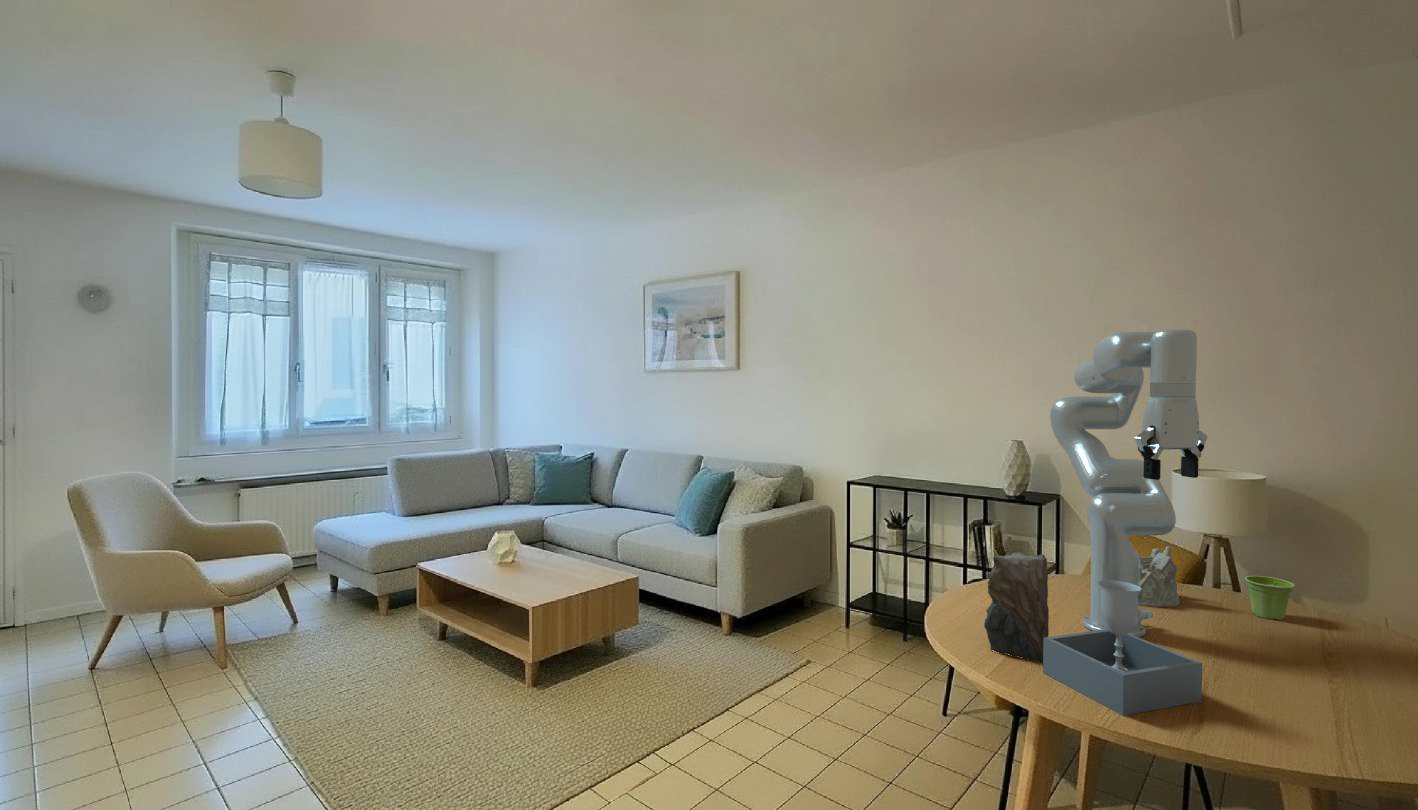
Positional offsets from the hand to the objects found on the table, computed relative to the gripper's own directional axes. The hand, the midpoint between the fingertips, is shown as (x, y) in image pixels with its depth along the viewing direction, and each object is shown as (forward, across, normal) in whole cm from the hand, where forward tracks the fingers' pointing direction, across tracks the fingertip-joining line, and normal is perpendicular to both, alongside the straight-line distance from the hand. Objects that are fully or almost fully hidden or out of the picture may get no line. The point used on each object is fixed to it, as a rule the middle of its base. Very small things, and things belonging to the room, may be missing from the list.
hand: (1170, 477), depth 134 cm
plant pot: (+39, -52, -16) cm, 67 cm away
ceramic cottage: (+39, -36, -36) cm, 64 cm away
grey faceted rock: (+38, +22, -15) cm, 47 cm away
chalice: (+37, +17, +4) cm, 41 cm away
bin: (+38, +17, +4) cm, 42 cm away
